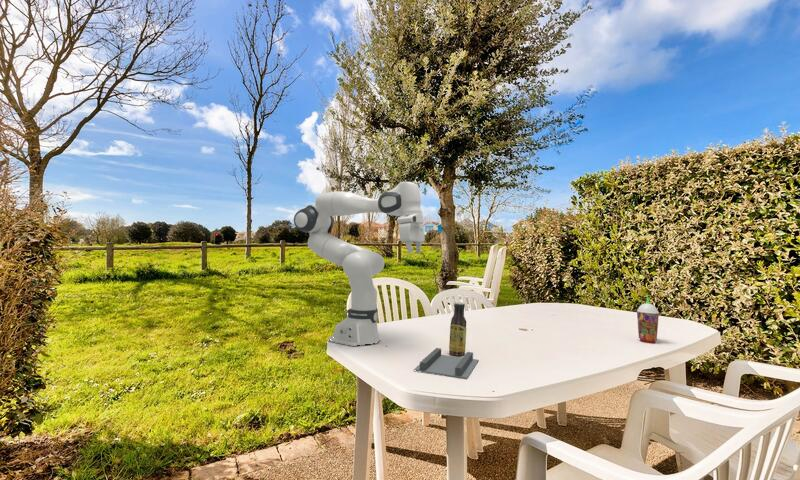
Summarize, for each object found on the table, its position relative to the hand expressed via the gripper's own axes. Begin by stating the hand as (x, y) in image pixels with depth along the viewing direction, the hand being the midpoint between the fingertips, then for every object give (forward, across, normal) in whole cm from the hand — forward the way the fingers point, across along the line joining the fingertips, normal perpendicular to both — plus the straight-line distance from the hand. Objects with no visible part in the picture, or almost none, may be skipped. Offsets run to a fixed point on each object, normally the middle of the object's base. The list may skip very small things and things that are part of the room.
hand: (414, 253), depth 151 cm
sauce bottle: (+41, +1, +15) cm, 43 cm away
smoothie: (+48, -54, +88) cm, 114 cm away
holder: (+41, +16, +15) cm, 46 cm away
